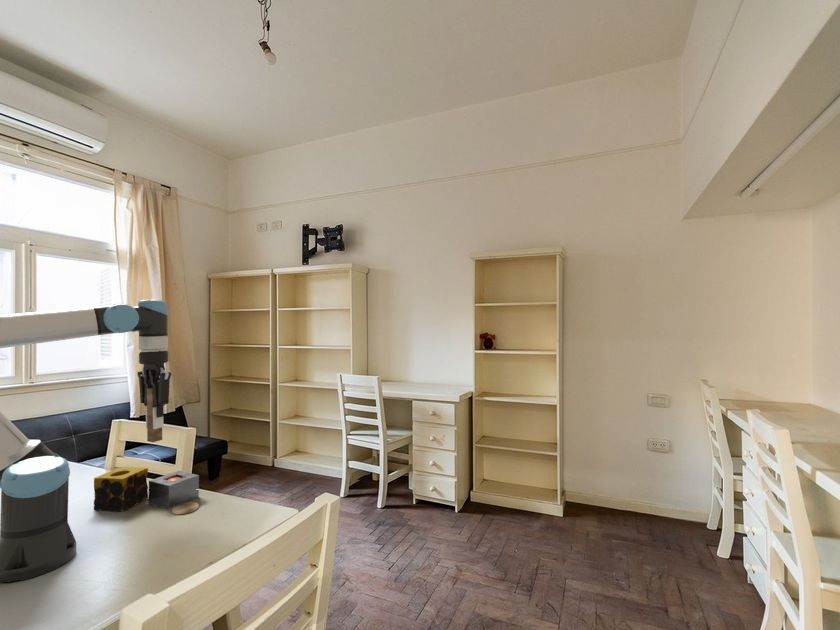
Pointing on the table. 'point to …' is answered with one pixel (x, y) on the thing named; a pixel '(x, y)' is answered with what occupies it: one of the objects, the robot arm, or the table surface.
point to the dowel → (152, 433)
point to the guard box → (173, 489)
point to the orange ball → (174, 479)
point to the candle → (120, 489)
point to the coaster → (185, 508)
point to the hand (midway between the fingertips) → (154, 427)
